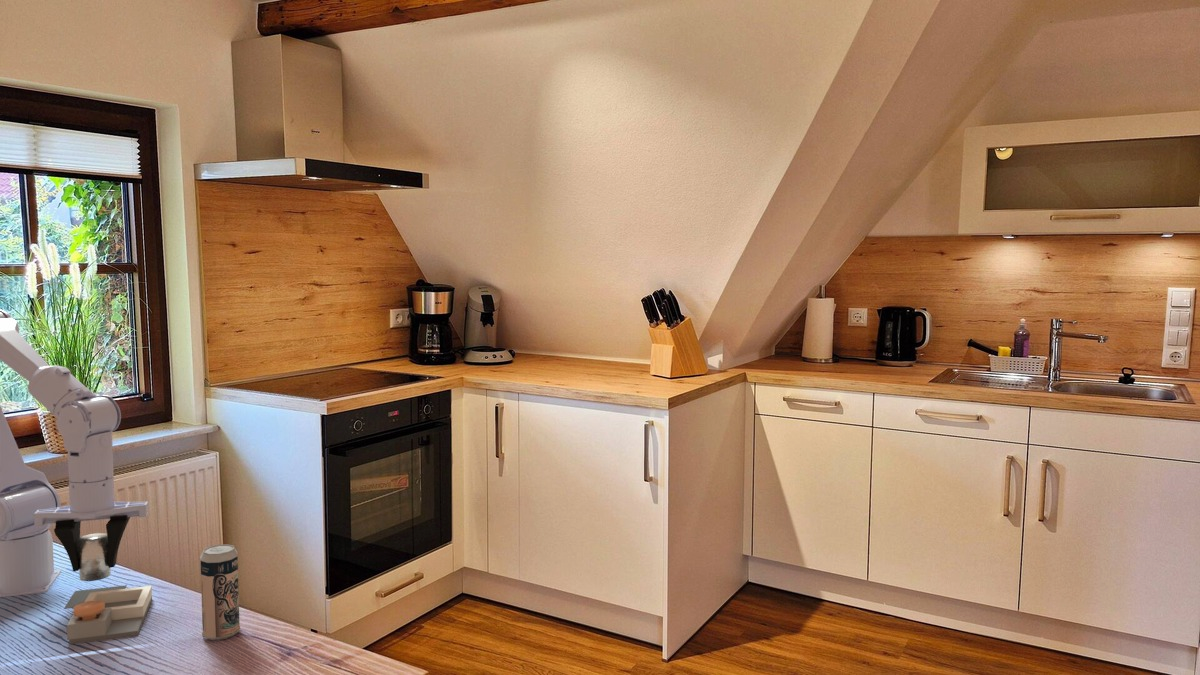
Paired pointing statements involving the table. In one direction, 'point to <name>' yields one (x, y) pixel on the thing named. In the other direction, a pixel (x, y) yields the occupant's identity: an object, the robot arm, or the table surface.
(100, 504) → the robot arm
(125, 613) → the station
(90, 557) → the billet
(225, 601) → the beer can
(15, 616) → the table surface
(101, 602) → the button
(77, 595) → the mat
